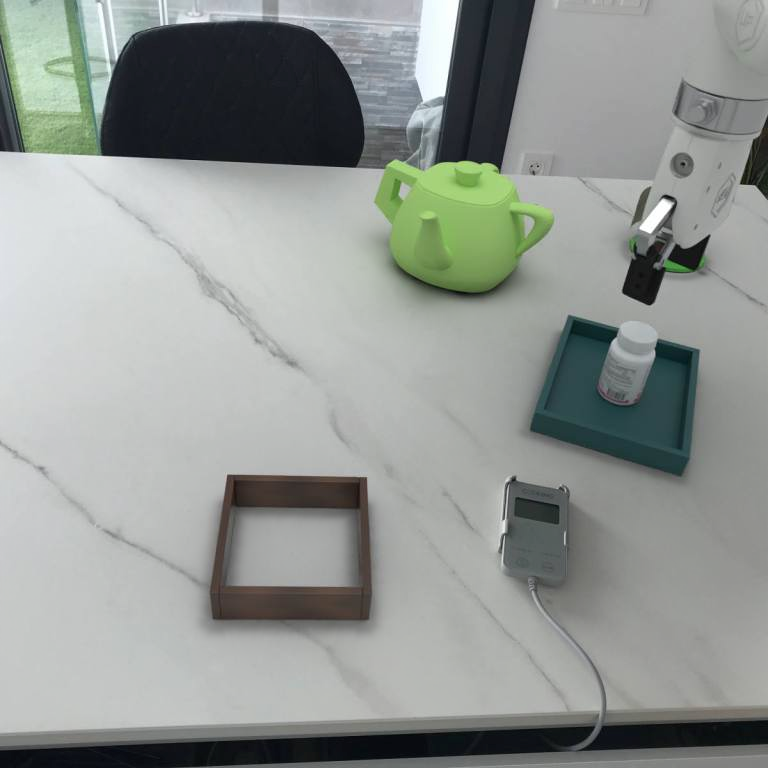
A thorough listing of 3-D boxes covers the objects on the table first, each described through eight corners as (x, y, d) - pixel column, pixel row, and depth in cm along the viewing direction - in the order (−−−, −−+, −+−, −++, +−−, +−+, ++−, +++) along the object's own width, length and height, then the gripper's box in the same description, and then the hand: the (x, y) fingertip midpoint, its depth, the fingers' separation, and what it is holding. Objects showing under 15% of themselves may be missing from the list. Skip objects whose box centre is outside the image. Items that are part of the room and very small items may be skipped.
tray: (681, 476, 78) (689, 458, 76) (529, 430, 81) (534, 411, 80) (692, 366, 92) (700, 349, 90) (563, 331, 96) (568, 314, 94)
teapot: (490, 227, 115) (507, 133, 106) (546, 303, 100) (573, 201, 91) (368, 236, 110) (375, 138, 101) (409, 316, 95) (421, 210, 86)
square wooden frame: (364, 502, 72) (367, 476, 69) (368, 620, 62) (371, 594, 60) (229, 500, 71) (227, 474, 68) (212, 619, 61) (209, 593, 59)
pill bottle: (623, 376, 89) (644, 315, 83) (648, 402, 85) (672, 341, 80) (588, 383, 87) (607, 322, 82) (611, 410, 84) (634, 348, 78)
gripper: (721, 145, 59) (655, 331, 69) (799, 99, 69) (731, 266, 80) (632, 116, 62) (582, 297, 73) (719, 76, 73) (664, 239, 83)
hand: (660, 281), depth 76 cm, fingers open, 9 cm apart
